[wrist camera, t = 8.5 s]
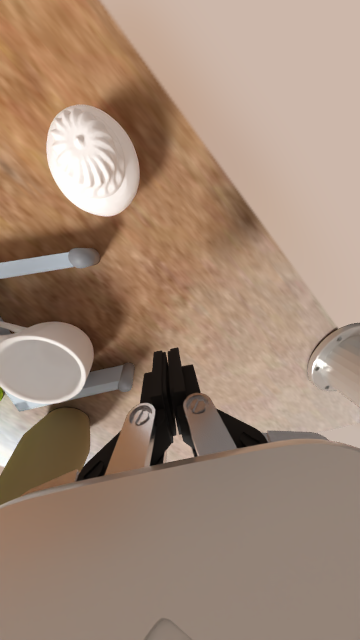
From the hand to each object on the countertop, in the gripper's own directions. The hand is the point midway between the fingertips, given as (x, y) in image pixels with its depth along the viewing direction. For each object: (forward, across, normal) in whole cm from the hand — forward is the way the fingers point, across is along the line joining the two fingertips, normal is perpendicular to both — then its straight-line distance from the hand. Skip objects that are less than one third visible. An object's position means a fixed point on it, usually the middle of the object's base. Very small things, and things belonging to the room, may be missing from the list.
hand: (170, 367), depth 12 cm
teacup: (+10, +13, 0) cm, 16 cm away
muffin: (+10, +3, -14) cm, 17 cm away
